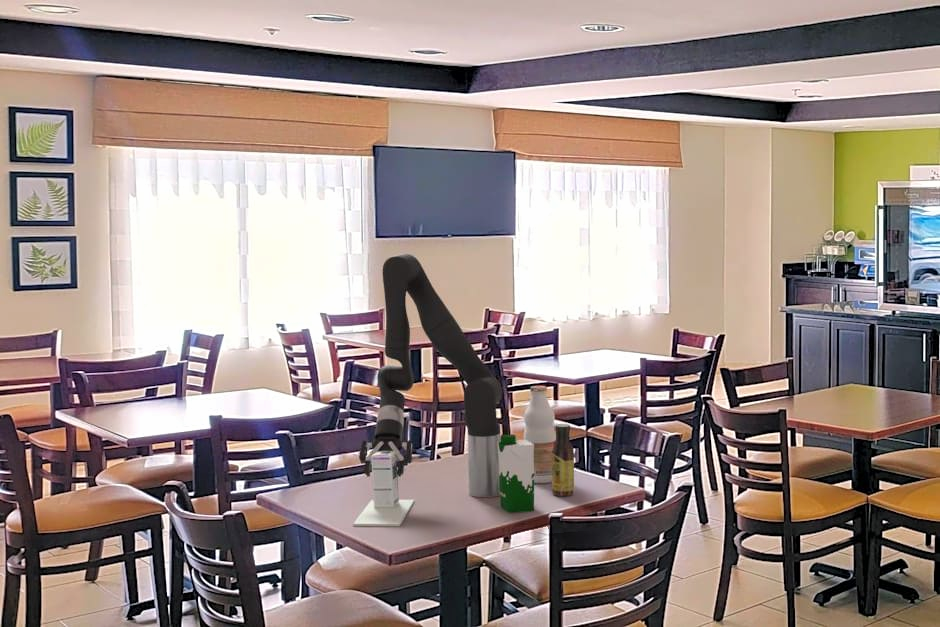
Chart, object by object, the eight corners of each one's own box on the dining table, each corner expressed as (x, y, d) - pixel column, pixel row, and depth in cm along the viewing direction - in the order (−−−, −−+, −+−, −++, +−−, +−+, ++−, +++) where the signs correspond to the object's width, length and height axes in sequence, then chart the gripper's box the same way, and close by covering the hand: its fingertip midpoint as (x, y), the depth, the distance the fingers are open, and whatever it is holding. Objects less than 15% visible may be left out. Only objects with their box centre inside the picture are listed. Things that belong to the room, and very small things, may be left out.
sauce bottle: (549, 492, 299) (547, 423, 297) (570, 490, 300) (569, 421, 298) (555, 498, 292) (554, 427, 291) (577, 496, 294) (576, 426, 292)
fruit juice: (518, 480, 314) (516, 387, 312) (539, 474, 320) (537, 383, 318) (541, 485, 307) (539, 390, 305) (563, 479, 314) (561, 386, 311)
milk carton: (496, 506, 285) (494, 433, 284) (527, 503, 288) (526, 430, 286) (506, 514, 277) (504, 439, 275) (539, 511, 280) (537, 436, 278)
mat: (414, 501, 292) (414, 499, 292) (399, 526, 269) (399, 524, 269) (371, 501, 294) (371, 499, 294) (353, 526, 270) (353, 523, 270)
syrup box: (394, 508, 284) (392, 455, 283) (372, 507, 285) (370, 454, 284) (399, 502, 290) (397, 450, 289) (378, 502, 291) (376, 450, 290)
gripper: (362, 417, 294) (355, 467, 283) (413, 417, 292) (407, 467, 282) (366, 433, 299) (359, 482, 289) (416, 432, 298) (411, 482, 287)
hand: (383, 475), depth 285 cm, fingers open, 8 cm apart
